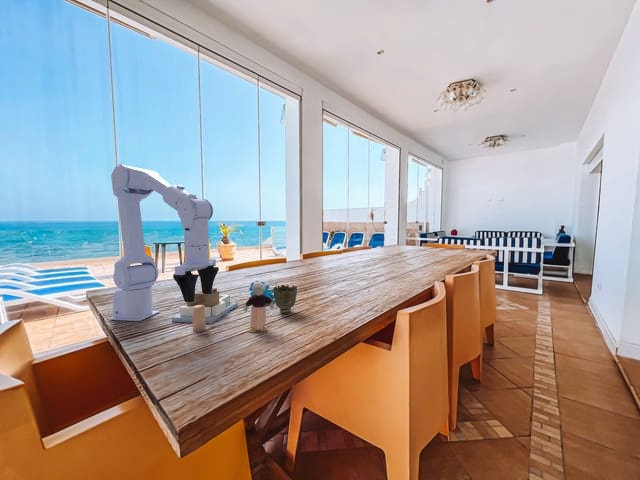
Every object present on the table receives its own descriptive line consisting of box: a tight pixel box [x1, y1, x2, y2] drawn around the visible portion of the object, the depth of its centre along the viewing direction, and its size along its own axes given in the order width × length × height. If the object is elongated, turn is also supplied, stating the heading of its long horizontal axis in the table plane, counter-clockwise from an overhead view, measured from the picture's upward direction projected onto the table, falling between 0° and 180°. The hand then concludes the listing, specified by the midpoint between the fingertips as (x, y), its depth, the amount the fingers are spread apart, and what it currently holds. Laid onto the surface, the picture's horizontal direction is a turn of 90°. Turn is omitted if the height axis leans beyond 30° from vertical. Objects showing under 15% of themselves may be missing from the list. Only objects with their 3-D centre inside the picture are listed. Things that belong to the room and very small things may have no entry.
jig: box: [171, 294, 238, 324], centre depth 80 cm, size 12×16×4 cm
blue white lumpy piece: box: [248, 280, 275, 306], centre depth 92 cm, size 11×6×10 cm
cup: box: [272, 284, 298, 315], centre depth 80 cm, size 8×7×8 cm
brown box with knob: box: [186, 287, 220, 315], centre depth 78 cm, size 8×4×7 cm, turn 82°
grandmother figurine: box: [243, 281, 275, 334], centre depth 67 cm, size 8×4×13 cm, turn 117°
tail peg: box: [192, 305, 207, 332], centre depth 68 cm, size 3×3×6 cm
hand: (198, 297), depth 67 cm, fingers open, 7 cm apart
